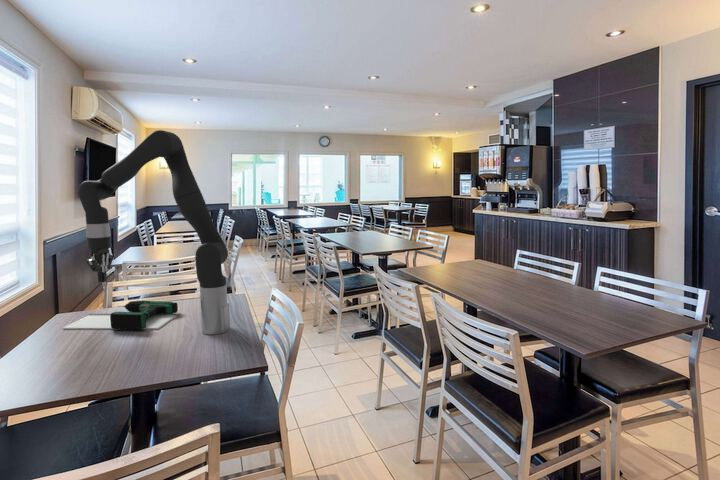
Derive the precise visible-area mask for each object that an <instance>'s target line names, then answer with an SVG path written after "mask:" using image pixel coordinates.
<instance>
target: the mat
mask: <svg viewBox="0 0 720 480" xmlns="http://www.w3.org/2000/svg"><path fill="white" fill-rule="evenodd" d="M110 315H111V313H88V315H87V316H84V317H81V319H78V320H76V321H74V322H72V323H70V324H66V325H65V326H64V327H62V330H113V329H112V328H111V320H110ZM176 317H178V313H173V314H166V313H161V314H155V315H153V316H152V317H150V318H148V319H146V321H147V322H146V327H145V328H144V329H143V330H159V329H161V328H162V327H164V326H165V325H166V324H168V323H169V322H171V321H172V320H174V319H175V318H176Z"/></svg>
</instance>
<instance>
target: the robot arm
mask: <svg viewBox="0 0 720 480" xmlns="http://www.w3.org/2000/svg"><path fill="white" fill-rule="evenodd" d="M158 158H163V159H164V160H165V163H166V164H167V166H168V168H169V171H170V175H171V181H172V183H171V185H172V187H171V188H172V195H173V199H174V202H175V203H176V206H177V207H178V210H179V212H180V214H181V215H182V217H183V218H184V219H185V220H186V221H187V223H188V224H189V225H190V226H191V227H192V228H193V230H194V231H195V232H196V234H197V236H198V238H199V240H200V243H201V245H199V246H198V247H197V249H196V251H195V254H194V255H195V257H194V259H195V271H196V279H197V281H198V282H199V294H200V295H199V296H200V297H199V298H200V311H201V312H200V316H201V317H200V318H201V332H202V334H205V335H217V334H225V333H226V332H228V330H230V328H231V316H230V315H231V314H230V311H231V310H230V303H229V302H228V294H227V293H228V291H227V290H228V289H227V277H226V276H225V275H223V270H222V264H224V263H225V262H226V261H227V259H228V257H229V252H228V248H227V245H226V244H225V242H224V240H223V239H222V237H221V234H220V233H219V231H218V229H217V227H216V225H215V223H214V220H213V219H212V218H213V217H212V215H211V213H210V211H209V208H208V205H207V203H206V200H205V198H204V196H203V193H202V191H201V189H200V186H199V184H198V182H197V180H196V178H195V176H194V173H193V171H192V168H191V166H190V164H189V160H188V157H187V155H186V151H185V147H184V145H183V142H182V140H181V139H180V137H179V136H178V135H177V134H175V133H173V132H171V131H168V130H167V131H166V130H162V129H157V130H154V131H153V132H151V133H149V134H148V136H146V137H145V138H144V139H143V140H142V141H141V142H140V143H139V144H138V145H137V146H136V147H135V148H134V149H133V150H131V151H130V153H128V154H127V155H126V156H124V157H123V158H122V159H120V160H119V161H117V162H116V163H114V164H113V165H112V166H110V167H108V168H107V169H106V170H104V171H103V172H102V174H101V178H100V179H98V180H84V181H82V182H81V183H80V184H79V187H78V189H77V190H78V193H77V194H78V197H79V200H80V203H81V206H82V208H83V211H84V213H85V223H86V224H85V225H86V226H85V233H86V234H85V235H86V236H85V237H86V244H87V245H86V247H87V249H88V250H90V258H89V259H87V260H86V261H85V262H86V264H87V265H88V267H89V268H90V269H91V271H92V272H93V273H94V272H95V273H97V281H98V283H105V282H107V280H108V278H107V271H108V270H109V269H110V268H111V265H112V263H113V260H114V257H115V255H114V254H111V253H110V248H112V234H111V227H110V221H109V220H110V219H109V212H108V209H107V208H106V207H104V206H102V205H101V204H102V203H101V202H100V201H102V200H106V199H108V198H110V197H111V196H112V195H113V194H114V193H115V192H116V191H117V190H118V189H119V188H121V187H122V186H123V185H124V184H126V183H127V182H129V181H131V180H132V179H133V178H135V176H136V175H137V174H138V173H139V172H140V170H141V169H142V168H143V167H144V166H145V165H147V164H148V163H149V162H152V161H153V160H156V159H158Z"/></svg>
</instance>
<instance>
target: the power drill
mask: <svg viewBox="0 0 720 480" xmlns="http://www.w3.org/2000/svg"><path fill="white" fill-rule="evenodd" d="M119 307H123V308H125V309H126V311H114V312H111V313H110V314H111V315H110V320H111V328H112V329H111V330H132V331H141V330H145V329H144V328H145V327H146V322H147V321H146V319H148V318H150V317H152V316H153V315H155V314H177V313H178V310H179V308H178V307H179V306H178V302H173V301H160V300H159V301H158V300H157V301H156V300H133V301H128V303H126V304H125V305H117V308H119Z"/></svg>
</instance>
